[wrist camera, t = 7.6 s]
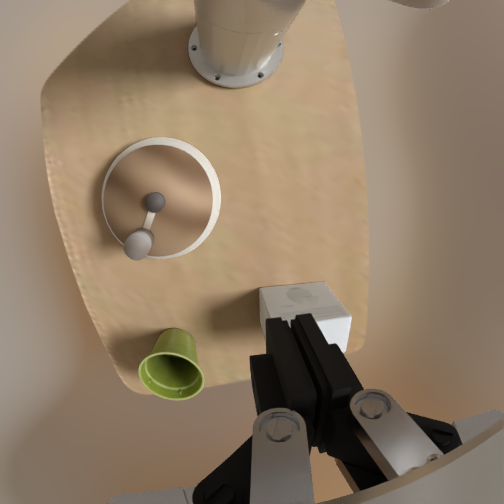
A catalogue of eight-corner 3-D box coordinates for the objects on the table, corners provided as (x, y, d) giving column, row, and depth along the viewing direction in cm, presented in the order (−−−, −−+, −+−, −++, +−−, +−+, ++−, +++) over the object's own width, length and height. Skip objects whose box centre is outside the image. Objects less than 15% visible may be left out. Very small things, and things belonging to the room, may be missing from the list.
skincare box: (259, 323, 46) (271, 366, 36) (258, 287, 44) (271, 325, 34) (322, 316, 47) (346, 354, 37) (325, 280, 45) (353, 314, 35)
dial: (128, 130, 32) (115, 127, 27) (230, 168, 35) (232, 171, 31) (95, 231, 36) (80, 242, 31) (189, 267, 39) (186, 283, 34)
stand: (132, 121, 34) (127, 119, 32) (240, 166, 38) (242, 167, 36) (93, 228, 38) (87, 232, 36) (192, 270, 42) (191, 277, 39)
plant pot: (158, 367, 46) (151, 402, 38) (140, 323, 43) (128, 356, 35) (210, 360, 47) (211, 396, 39) (196, 314, 44) (194, 348, 36)
